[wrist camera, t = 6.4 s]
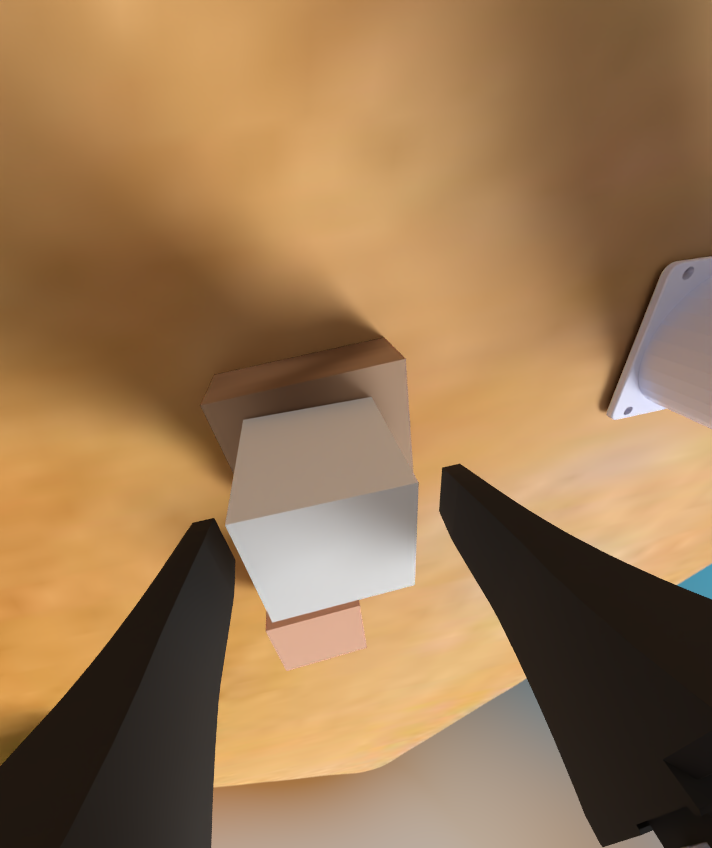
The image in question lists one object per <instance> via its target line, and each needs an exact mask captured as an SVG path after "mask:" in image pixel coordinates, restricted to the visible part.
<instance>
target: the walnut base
mask: <svg viewBox="0 0 712 848" xmlns="http://www.w3.org/2000/svg"><path fill="white" fill-rule="evenodd" d="M368 397H372V399H373V400H374V402H375V404H376V406H377V408H378V410H379V411H380V413H381V415H382V417H383V419H384V420H385V422H386V424H387V426H388V428H389V430H390V431H391V433H392V435H393V437H394V439H395V441H396V442H397V444H398V446H399V448H400V450H401V451H402V453H403V455H404V457H405V459H406V461H407V462H408V464H409V466H410V468H411V470H412V472H413V461H412V446H411V431H410V416H409V401H408V386H407V371H406V359H405V358H404V357H403V356H402V355H401V354H400V353H399V352H398V351H397V350H396V349H395V348H394V347H393V346H392V345H391V344H390V343H389V342H388V341H387V340H386V339H385V338H380V339H375V340H370V341H366V342H361V343H357V344H352V345H348V346H343V347H338V348H334V349H329V350H325V351H320V352H316V353H311V354H306V355H302V356H297V357H293V358H288V359H284V360H279V361H274V362H270V363H265V364H261V365H256V366H252V367H247V368H242V369H238V370H233V371H229V372H224V373H220V374H215V375H214V376H213V379H212V381H211V383H210V385H209V387H208V389H207V392H206V394H205V396H204V398H203V400H202V403H201V405H200V406H201V408H202V410H203V412H204V414H205V416H206V418H207V420H208V422H209V424H210V426H211V429H212V431H213V433H214V435H215V437H216V439H217V441H218V443H219V445H220V447H221V449H222V451H223V453H224V455H225V457H226V459H227V461H228V463H229V465H230V467H231V469H232V471H233V474H234V470H235V465H236V459H237V453H238V447H239V441H240V436H241V430H242V424H243V420H245V419H251V418H256V417H262V416H267V415H273V414H279V413H284V412H290V411H295V410H301V409H306V408H312V407H318V406H323V405H329V404H334V403H340V402H345V401H351V400H357V399H362V398H368Z"/></svg>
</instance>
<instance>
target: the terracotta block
mask: <svg viewBox="0 0 712 848" xmlns="http://www.w3.org/2000/svg"><path fill="white" fill-rule="evenodd" d="M266 633H267V635H268V636H269V638H270V640H271V642H272V644H273V646H274V648H275V650H276V652H277V654H278V656H279V658H280V660H281V661H282V663H283V665H284V667H285V669H286V671H289V670H292V669H295V668H299V667H302V666H306V665H309V664H313V663H316V662H320V661H323V660H326V659H330V658H333V657H337V656H340V655H344V654H347V653H351V652H354V651H357V650H361V649H364V648H367V645H366V639H365V633H364V627H363V621H362V615H361V609H360V604H359V600H356V601H352V602H348V603H345V604H341V605H337V606H333V607H329V608H326V609H322V610H318V611H314V612H311V613H307V614H303V615H299V616H295V617H292V618H288V619H284V620H280V621H277V622H273V623H272V621H271V619H270V617H269V614H268V612H267V610H266Z"/></svg>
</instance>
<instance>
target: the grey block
mask: <svg viewBox="0 0 712 848" xmlns="http://www.w3.org/2000/svg"><path fill="white" fill-rule="evenodd" d="M418 483H419V482H418V481H417V479H416V477H415V475H414V473H413V472H412V470H411V468H410V466H409V464H408V462H407V461H406V459H405V457H404V455H403V453H402V451H401V450H400V448H399V446H398V444H397V442H396V441H395V439H394V437H393V435H392V433H391V431H390V430H389V428H388V426H387V424H386V422H385V420H384V419H383V417H382V415H381V413H380V411H379V410H378V408H377V406H376V404H375V402H374V400H373V399H372V397H368V398H362V399H357V400H351V401H345V402H340V403H334V404H329V405H323V406H318V407H312V408H306V409H301V410H295V411H290V412H284V413H279V414H273V415H267V416H262V417H256V418H251V419H245V420H243V424H242V430H241V436H240V441H239V447H238V453H237V459H236V465H235V470H234V476H233V482H232V488H231V494H230V499H229V505H228V511H227V517H226V523H225V526H226V528H227V530H228V532H229V534H230V536H231V538H232V540H233V542H234V545H235V547H236V549H237V551H238V553H239V555H240V557H241V559H242V561H243V563H244V565H245V567H246V569H247V571H248V573H249V575H250V577H251V580H252V582H253V584H254V586H255V588H256V590H257V592H258V594H259V596H260V598H261V600H262V602H263V604H264V606H265V608H266V610H267V612H268V614H269V617H270V619H271V621H272V623H273V622H277V621H280V620H284V619H288V618H292V617H295V616H299V615H303V614H307V613H311V612H314V611H318V610H322V609H326V608H329V607H333V606H337V605H341V604H345V603H348V602H352V601H356V600H360V599H364V598H367V597H371V596H375V595H379V594H382V593H386V592H390V591H394V590H398V589H401V588H405V587H409V586H413V585H415V566H416V538H417V511H418Z"/></svg>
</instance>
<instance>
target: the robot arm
mask: <svg viewBox="0 0 712 848" xmlns="http://www.w3.org/2000/svg"><path fill="white" fill-rule="evenodd" d="M663 409H669V410H671V411H673V412H675V413H678V414H680V415H682V416H684V417H686V418H689V419H691V420H693V421H695V422H697V423H700V424H702V425H704V426H706V427H708V428H711V429H712V256H708V257H702V258H695V259H688V260H682V261H675V262H672V263H671V264H669V265H668V266H667V267H666V268H665V269H664V270H663V271H662V273H661V275H660V278H659V280H658V283H657V285H656V288H655V290H654V293H653V295H652V298H651V301H650V303H649V306H648V308H647V311H646V313H645V316H644V318H643V321H642V323H641V326H640V328H639V331H638V334H637V336H636V339H635V341H634V344H633V346H632V349H631V351H630V354H629V356H628V359H627V361H626V364H625V367H624V369H623V372H622V374H621V377H620V379H619V382H618V384H617V387H616V389H615V392H614V394H613V397H612V399H611V402H610V405H609V407H608V410H607V416H608V417H610V418H612V419H613V420H617V419H622V418H626V417H631V416H635V415H640V414H645V413H649V412H654V411H659V410H663ZM439 512H440V514H441V516H442V519H443V521H444V523H445V526H446V528H447V530H448V532H449V534H450V537H451V539H452V541H453V542H454V544H455V546H456V548H457V549H458V551H459V553H460V554H461V556H462V558H463V559H464V561H465V563H466V564H467V566H468V568H469V569H470V571H471V573H472V574H473V576H474V578H475V579H476V581H477V583H478V584H479V586H480V588H481V589H482V591H483V593H484V594H485V596H486V598H487V599H488V601H489V603H490V605H491V606H492V608H493V610H494V612H495V614H496V615H497V617H498V619H499V621H500V623H501V625H502V627H503V629H504V631H505V633H506V635H507V637H508V639H509V641H510V644H511V646H512V648H513V650H514V652H515V654H516V656H517V658H518V660H519V662H520V665H521V667H522V669H523V671H524V673H525V675H526V677H527V680H528V682H529V684H530V686H531V688H532V690H533V693H534V695H535V697H536V699H537V701H538V704H539V706H540V708H541V710H542V713H543V715H544V717H545V720H546V722H547V724H548V727H549V729H550V731H551V733H552V736H553V738H554V740H555V743H556V745H557V747H558V750H559V752H560V754H561V757H562V759H563V762H564V764H565V767H566V769H567V771H568V774H569V776H570V779H571V781H572V784H573V786H574V788H575V791H576V793H577V796H578V798H579V801H580V804H581V806H582V809H583V811H584V814H585V816H586V818H587V820H588V822H589V823H590V825H591V827H592V829H593V831H594V833H595V835H596V837H597V839H598V841H599V843H600V844H601V845H602V847H605V846H608V845H611V844H614V843H617V842H620V841H624V840H627V839H630V838H633V837H636V836H640V835H642V834H645V833H647V832H650V831H652V830H653V831H654V832H655V834H656V835H657V837H658V839H659V840H660V842H661V843H662V845H663V847H664V848H712V600H711V599H709V598H707V597H704V596H701V595H699V594H697V593H694V592H691V591H689V590H686V589H684V588H682V587H679V586H677V585H675V584H672V583H670V582H667V581H665V580H663V579H660V578H658V577H656V576H654V575H651V574H649V573H647V572H645V571H643V570H640V569H638V568H636V567H634V566H632V565H629V564H627V563H625V562H623V561H621V560H619V559H617V558H615V557H613V556H610V555H608V554H606V553H604V552H602V551H600V550H599V549H597V548H595V547H593V546H591V545H589V544H587V543H585V542H583V541H581V540H579V539H577V538H575V537H574V536H572V535H570V534H568V533H566V532H565V531H563V530H561V529H559V528H558V527H556V526H554V525H552V524H551V523H549V522H547V521H546V520H544V519H542V518H541V517H539V516H537V515H536V514H534V513H532V512H531V511H529V510H528V509H526V508H524V507H523V506H521V505H520V504H518V503H517V502H515V501H514V500H512V499H511V498H509V497H508V496H506V495H505V494H503V493H502V492H500V491H499V490H497V489H496V488H494V487H493V486H491V485H490V484H488V483H487V482H486V481H484V480H483V479H481V478H480V477H478V476H477V475H475V474H474V473H473V472H471V471H470V470H468V469H467V468H465V467H464V466H462V465H461V464H457V465H452V466H448V467H443V468H442V479H441V493H440V507H439ZM234 585H235V558H234V556H233V554H232V552H231V551H230V549H229V547H228V545H227V543H226V541H225V539H224V537H223V535H222V533H221V531H220V529H219V527H218V525H217V523H216V521H215V519H214V518H212V519H208V520H203V521H199V522H194V523H192V525H191V526H190V528H189V529H188V530H187V532H186V533H185V535H184V536H183V538H182V539H181V541H180V542H179V544H178V545H177V547H176V548H175V550H174V551H173V553H172V554H171V556H170V557H169V559H168V560H167V562H166V563H165V565H164V566H163V568H162V569H161V571H160V572H159V573H158V575H157V576H156V578H155V579H154V581H153V582H152V583H151V585H150V586H149V588H148V589H147V591H146V592H145V593H144V595H143V596H142V598H141V599H140V601H139V602H138V603H137V605H136V606H135V607H134V609H133V610H132V611H131V613H130V614H129V615H128V617H127V618H126V619H125V621H124V622H123V623H122V625H121V626H120V627H119V629H118V630H117V631H116V633H115V634H114V635H113V637H112V638H111V639H110V641H109V642H108V643H107V644H106V646H105V647H104V648H103V650H102V651H101V652H100V653H99V655H98V656H97V657H96V658H95V660H94V661H93V662H92V663H91V664H90V666H89V667H88V668H87V669H86V671H85V672H84V673H83V674H82V675H81V677H80V678H79V679H78V680H77V681H76V682H75V684H74V685H73V686H72V687H71V688H70V690H69V691H68V692H67V693H66V694H65V696H64V697H63V698H62V699H61V700H60V701H59V702H58V704H57V705H56V706H55V707H54V708H53V709H52V710H51V711H50V713H49V714H48V715H47V716H46V717H45V718H44V719H43V720H42V721H41V722H40V723H39V725H38V726H37V727H36V728H35V729H34V730H33V731H32V732H31V733H30V734H29V735H28V737H27V738H26V739H25V740H24V741H23V742H22V743H21V744H20V745H19V746H18V748H17V749H16V750H15V751H14V752H13V753H12V754H11V755H10V756H9V757H8V758H7V760H6V761H5V762H4V763H3V764H2V765H1V766H0V848H211V834H212V802H213V782H214V762H215V744H216V729H217V715H218V701H219V693H220V684H221V677H222V671H223V664H224V658H225V651H226V645H227V639H228V632H229V626H230V619H231V612H232V606H233V599H234Z"/></svg>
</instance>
